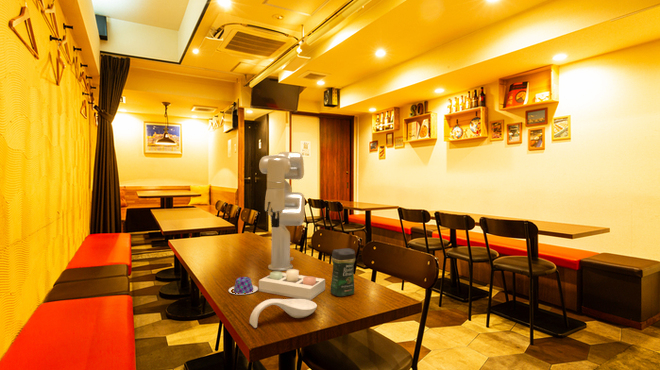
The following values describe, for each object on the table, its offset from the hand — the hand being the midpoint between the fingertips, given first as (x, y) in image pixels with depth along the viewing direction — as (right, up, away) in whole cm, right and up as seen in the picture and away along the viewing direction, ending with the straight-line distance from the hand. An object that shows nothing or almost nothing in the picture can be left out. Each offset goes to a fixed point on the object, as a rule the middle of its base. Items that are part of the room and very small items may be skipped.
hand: (275, 226), depth 151 cm
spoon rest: (+9, -27, -36) cm, 46 cm away
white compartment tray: (+8, -26, -8) cm, 28 cm away
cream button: (+9, -22, -9) cm, 26 cm away
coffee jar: (+30, -26, -11) cm, 41 cm away
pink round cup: (+16, -25, -12) cm, 32 cm away
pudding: (-12, -26, -10) cm, 30 cm away
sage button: (+1, -24, -5) cm, 25 cm away
